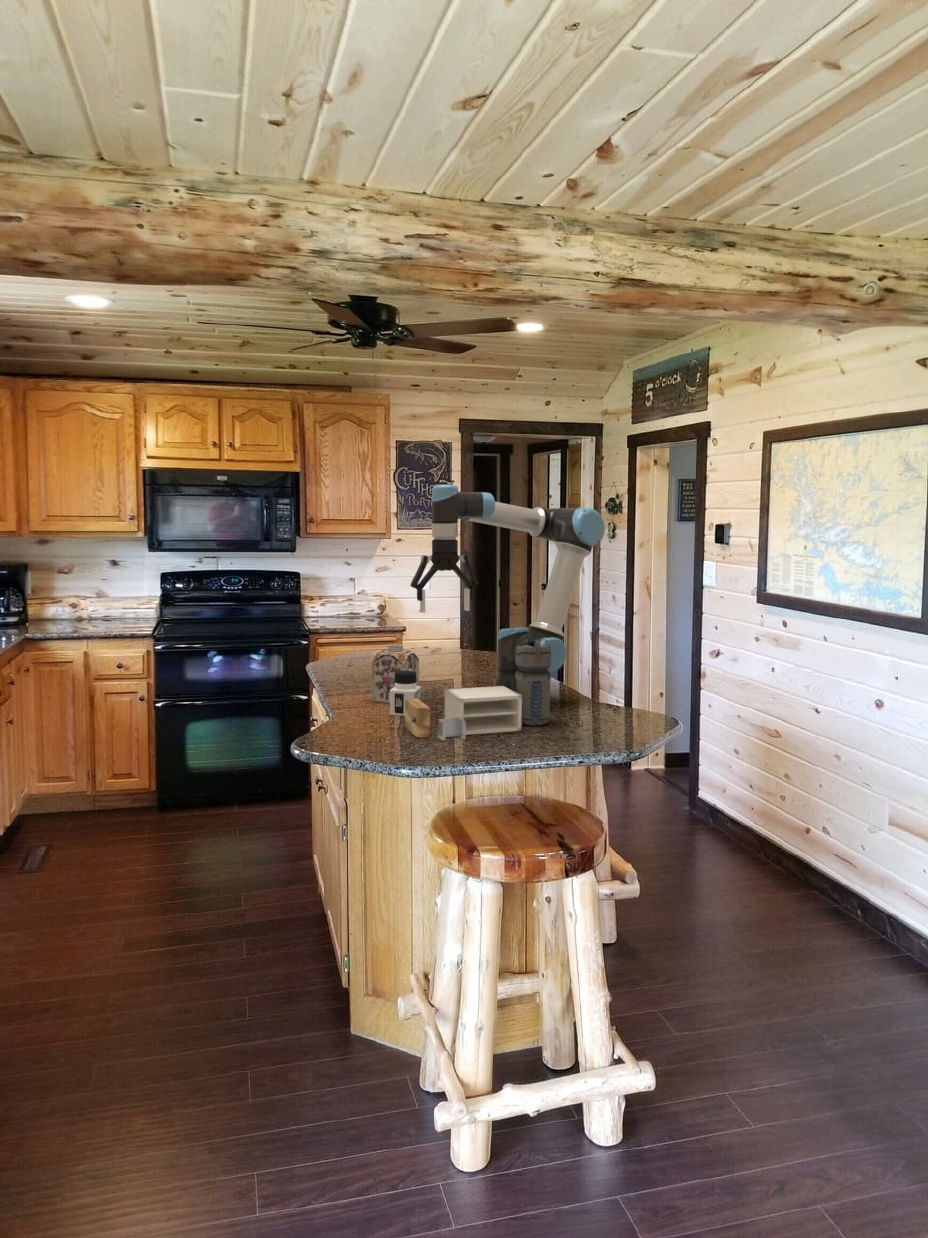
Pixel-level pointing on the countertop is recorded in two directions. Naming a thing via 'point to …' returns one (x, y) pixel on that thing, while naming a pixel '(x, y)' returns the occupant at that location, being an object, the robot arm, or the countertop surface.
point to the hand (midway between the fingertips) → (444, 611)
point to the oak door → (417, 718)
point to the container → (403, 691)
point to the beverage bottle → (533, 681)
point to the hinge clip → (451, 728)
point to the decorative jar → (391, 670)
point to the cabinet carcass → (484, 708)
